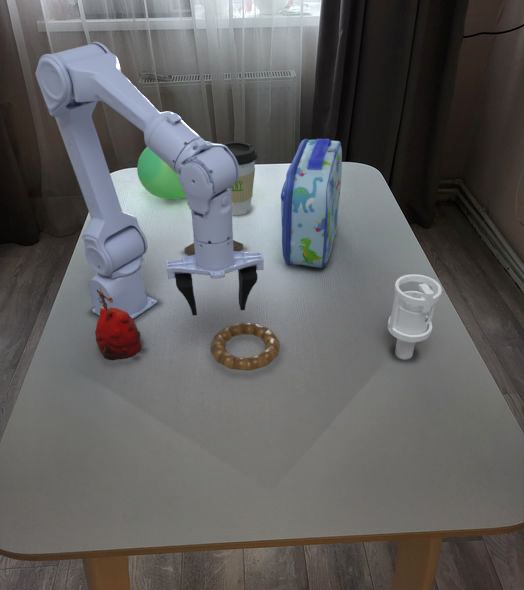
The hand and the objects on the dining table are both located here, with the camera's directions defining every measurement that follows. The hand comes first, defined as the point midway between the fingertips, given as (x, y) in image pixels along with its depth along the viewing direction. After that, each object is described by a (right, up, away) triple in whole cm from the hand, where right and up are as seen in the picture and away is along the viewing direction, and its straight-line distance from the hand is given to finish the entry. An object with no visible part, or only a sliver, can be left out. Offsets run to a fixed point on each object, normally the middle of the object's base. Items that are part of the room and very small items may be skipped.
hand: (218, 309), depth 89 cm
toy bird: (-14, +33, +52) cm, 63 cm away
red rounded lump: (-17, -7, +6) cm, 20 cm away
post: (-3, +15, +31) cm, 35 cm away
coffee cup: (+1, +28, +46) cm, 54 cm away
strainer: (+31, -7, +6) cm, 33 cm away
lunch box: (+18, +17, +34) cm, 42 cm away
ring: (+4, -6, +6) cm, 9 cm away
